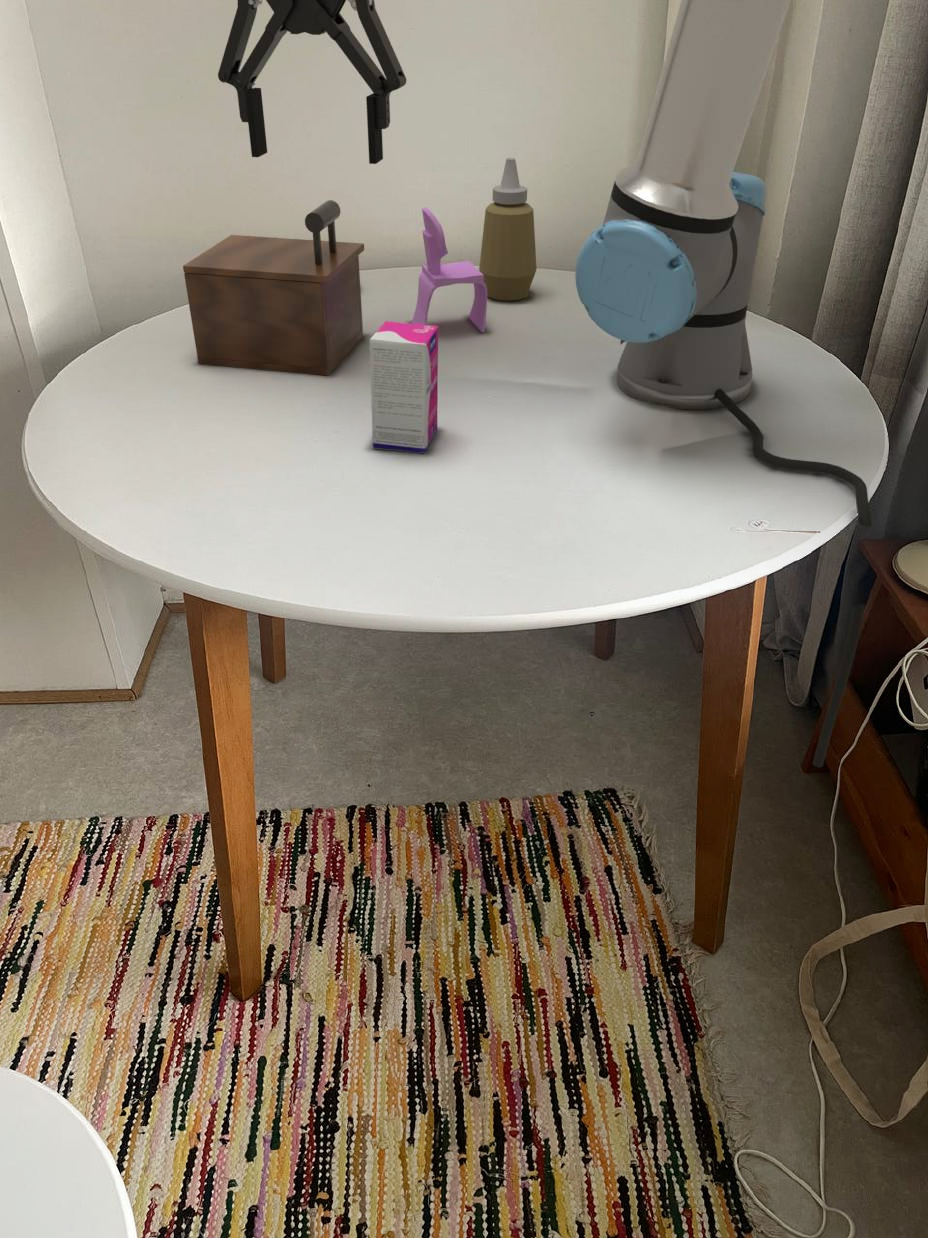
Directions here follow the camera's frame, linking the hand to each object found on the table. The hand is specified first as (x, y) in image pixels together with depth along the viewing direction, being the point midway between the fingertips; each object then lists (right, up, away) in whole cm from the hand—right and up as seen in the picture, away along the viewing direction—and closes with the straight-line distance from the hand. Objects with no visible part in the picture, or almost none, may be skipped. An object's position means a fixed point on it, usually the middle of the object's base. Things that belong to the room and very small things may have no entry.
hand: (317, 158), depth 110 cm
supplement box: (+10, -33, -7) cm, 35 cm away
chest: (-6, -17, +14) cm, 23 cm away
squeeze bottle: (+22, -5, +32) cm, 39 cm away
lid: (-6, -9, +8) cm, 13 cm away
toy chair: (+14, -13, +21) cm, 28 cm away
